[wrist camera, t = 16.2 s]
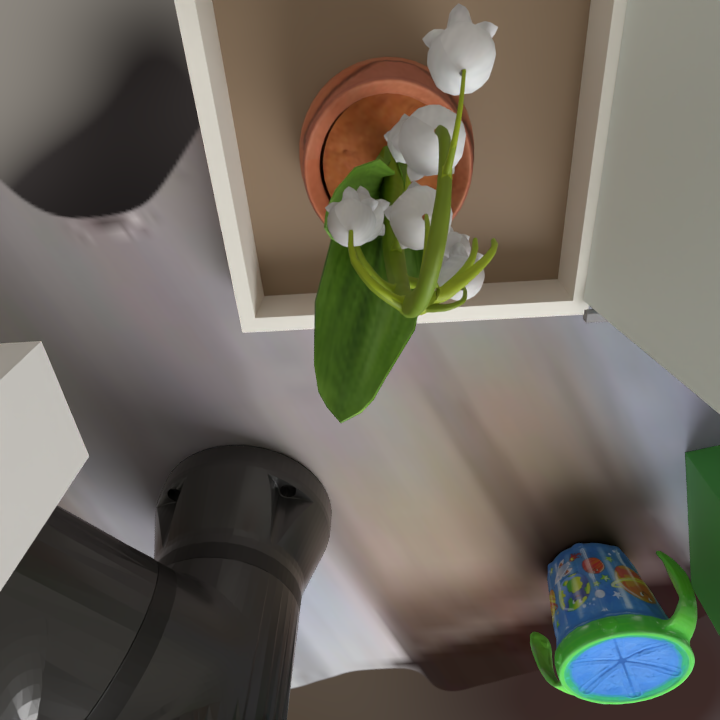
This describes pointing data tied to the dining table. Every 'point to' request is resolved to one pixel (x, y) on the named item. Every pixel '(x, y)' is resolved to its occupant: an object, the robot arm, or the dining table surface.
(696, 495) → the hardback book
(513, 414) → the dining table surface
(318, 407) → the dining table surface
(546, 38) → the white open hinged box
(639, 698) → the snack cup
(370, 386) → the potted flower
